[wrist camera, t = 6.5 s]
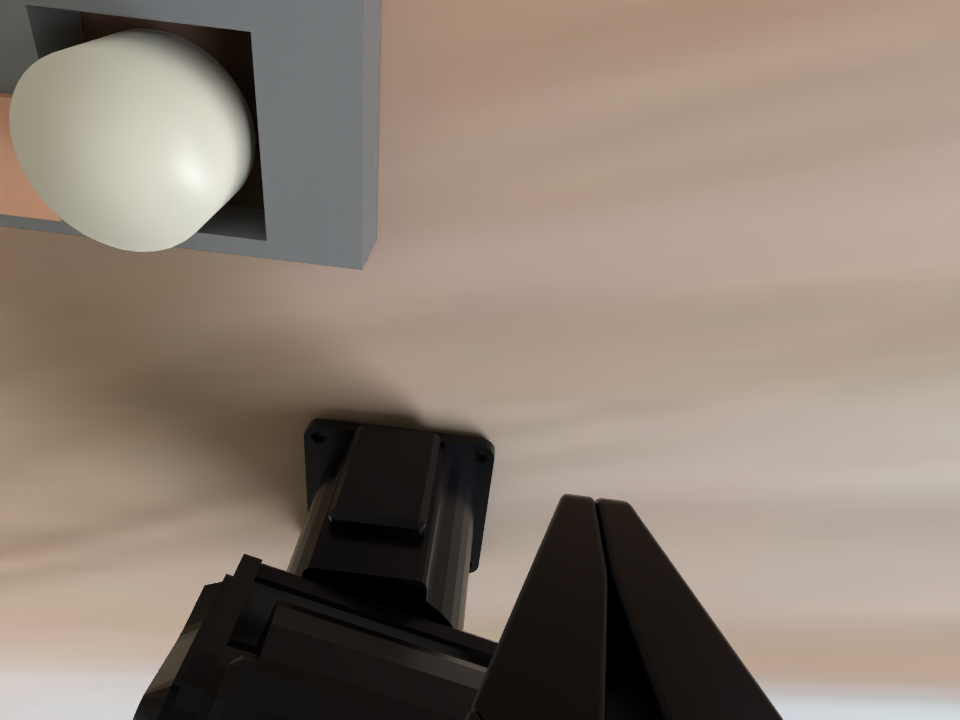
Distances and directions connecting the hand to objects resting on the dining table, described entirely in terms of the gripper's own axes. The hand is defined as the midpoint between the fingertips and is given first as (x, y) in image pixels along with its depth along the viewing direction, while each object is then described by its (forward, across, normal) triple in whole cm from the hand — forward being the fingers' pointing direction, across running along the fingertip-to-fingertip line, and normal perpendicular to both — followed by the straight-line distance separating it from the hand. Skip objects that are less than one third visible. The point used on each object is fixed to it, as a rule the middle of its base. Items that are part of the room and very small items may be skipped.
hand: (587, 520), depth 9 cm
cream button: (+11, +10, -1) cm, 15 cm away
